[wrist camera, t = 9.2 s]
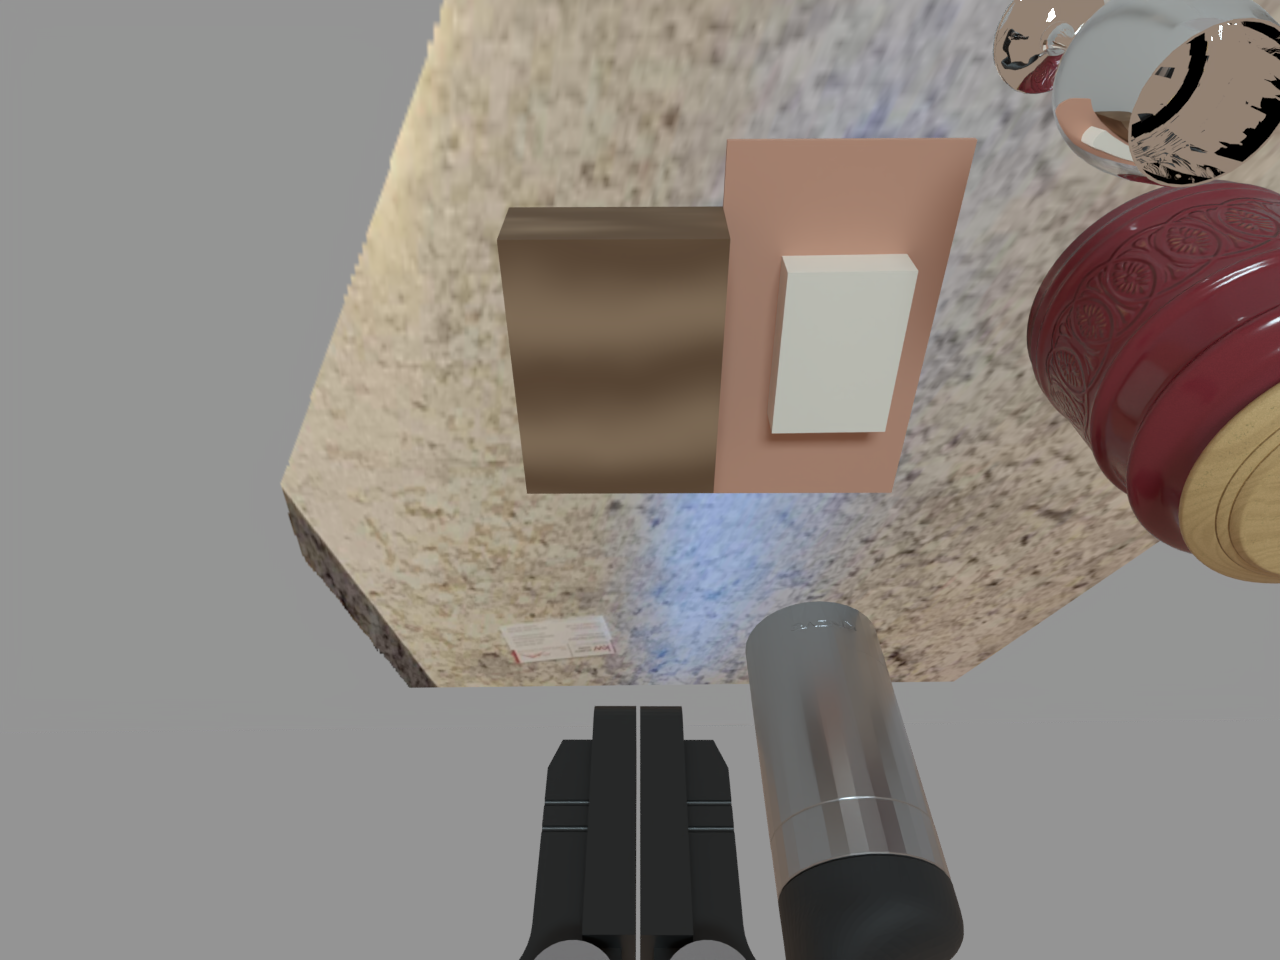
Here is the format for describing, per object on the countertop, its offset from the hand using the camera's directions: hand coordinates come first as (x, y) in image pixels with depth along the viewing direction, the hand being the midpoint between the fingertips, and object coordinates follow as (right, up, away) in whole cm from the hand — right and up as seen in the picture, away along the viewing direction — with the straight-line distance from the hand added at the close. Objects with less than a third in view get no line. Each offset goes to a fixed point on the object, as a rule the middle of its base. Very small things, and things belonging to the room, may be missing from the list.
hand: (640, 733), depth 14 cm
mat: (+9, +12, +28) cm, 32 cm away
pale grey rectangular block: (+10, +10, +26) cm, 30 cm away
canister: (+26, +13, +27) cm, 40 cm away
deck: (-1, +12, +28) cm, 30 cm away
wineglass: (+17, +23, +19) cm, 34 cm away
